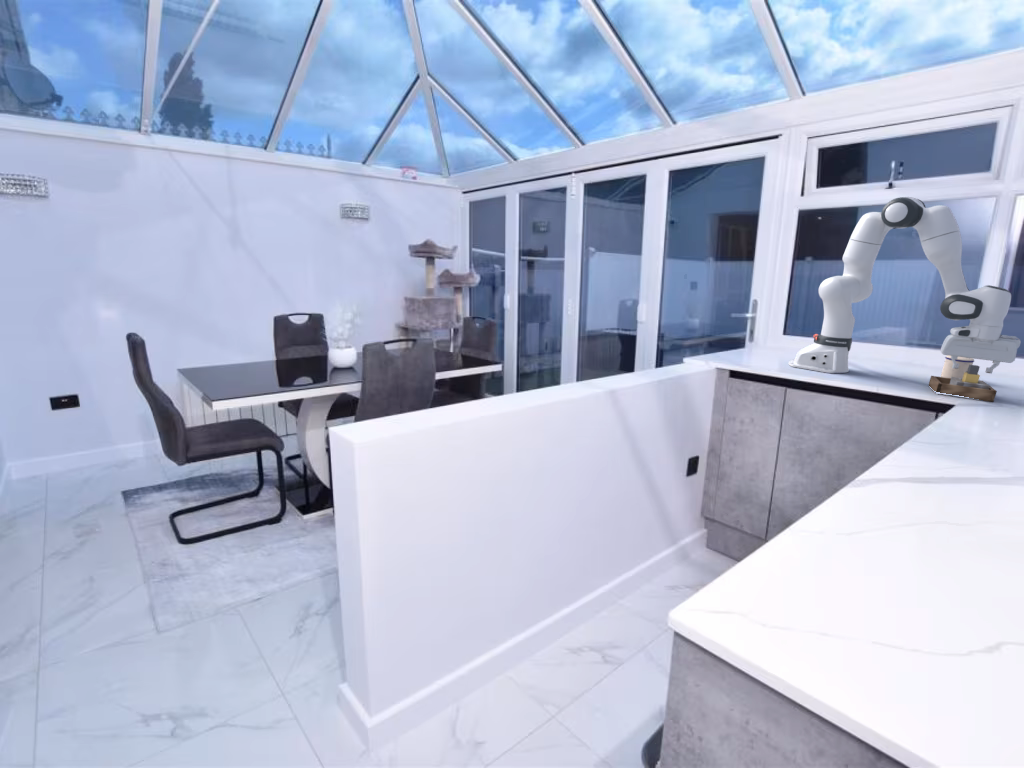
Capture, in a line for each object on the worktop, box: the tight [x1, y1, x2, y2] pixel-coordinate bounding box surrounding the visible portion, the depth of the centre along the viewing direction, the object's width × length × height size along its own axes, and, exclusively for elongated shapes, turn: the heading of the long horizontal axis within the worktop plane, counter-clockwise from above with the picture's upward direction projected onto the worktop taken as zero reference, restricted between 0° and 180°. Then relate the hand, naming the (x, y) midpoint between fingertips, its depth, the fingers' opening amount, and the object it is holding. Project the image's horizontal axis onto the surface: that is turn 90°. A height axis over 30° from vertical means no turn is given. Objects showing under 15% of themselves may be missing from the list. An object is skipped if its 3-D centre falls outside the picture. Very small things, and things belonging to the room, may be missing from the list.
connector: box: [962, 364, 981, 383], centre depth 185 cm, size 4×4×10 cm
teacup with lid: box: [940, 355, 975, 378], centre depth 210 cm, size 12×9×12 cm
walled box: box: [928, 375, 998, 403], centre depth 187 cm, size 16×14×5 cm
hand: (971, 370), depth 185 cm, fingers open, 8 cm apart
